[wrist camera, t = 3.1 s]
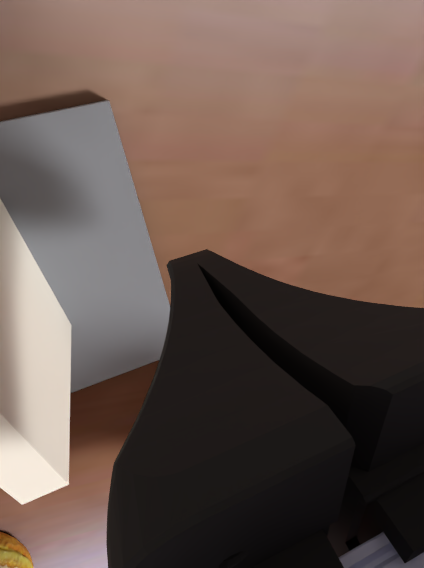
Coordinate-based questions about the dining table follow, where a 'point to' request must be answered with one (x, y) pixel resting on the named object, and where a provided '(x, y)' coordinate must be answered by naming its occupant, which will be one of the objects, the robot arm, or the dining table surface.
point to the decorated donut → (13, 553)
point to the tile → (31, 374)
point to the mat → (86, 236)
